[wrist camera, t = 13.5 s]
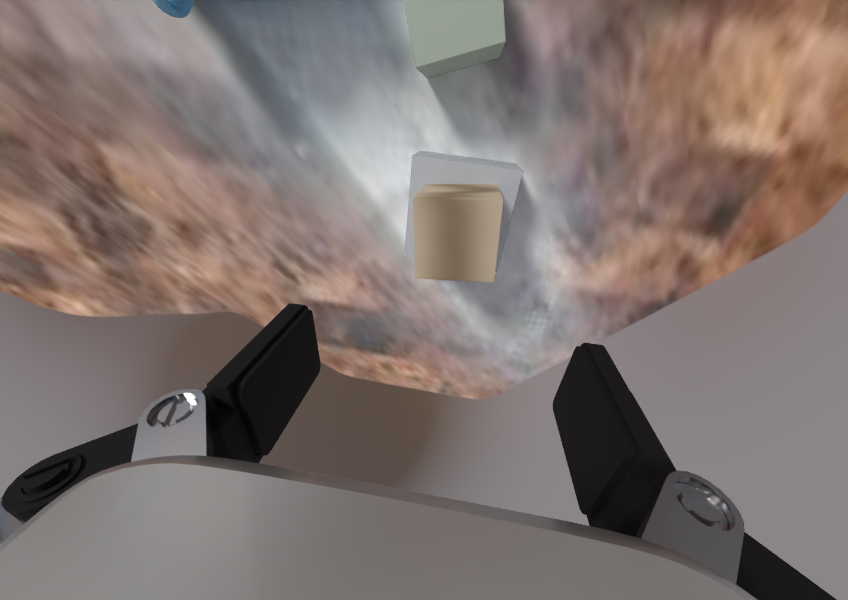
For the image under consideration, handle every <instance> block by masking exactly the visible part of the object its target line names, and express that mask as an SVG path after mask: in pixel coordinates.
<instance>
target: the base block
mask: <svg viewBox="0 0 848 600" xmlns="http://www.w3.org/2000/svg"><path fill="white" fill-rule="evenodd" d="M522 173H523V170H522V169H521V168H520V167H519V166H518V165H517V164H515V163H508V162H500V161H493V160H486V159H478V158H471V157H464V156H456V155H449V154H442V153H434V152H427V151H420V152H418V153H416V154H414V155H412V167H411V180H410V192H409V204H408V217H407V229H406V242H405V254H404V257H407V258H414V259H415V250H414V218H413V198H414V197H415V196H416V195H417V193H418V192H419V191H420V190H421V188H422V187H423V186H424V185H425V184H489V185H498V187H499V190H500V193H501V196H502V198H503V207H502V216H501V225H500V233H499V242H498V250H497V259H496V268H495V272H497V269H498V265H499V261H500V258H501V254H502V250H503V246H504V242H505V238H506V235H507V231H508V227H509V223H510V219H511V215H512V212H513V208H514V204H515V200H516V196H517V192H518V189H519V185H520V181H521V177H522Z"/></svg>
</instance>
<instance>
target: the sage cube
mask: <svg viewBox="0 0 848 600" xmlns="http://www.w3.org/2000/svg"><path fill="white" fill-rule="evenodd" d="M404 5H405V10H406V16H407V21H408V27H409V33H410V38H411V44H412V50H413V55H414V61H415V67H416V68H417V69H418V70H419V71H420V72H421V73H422V74H423V75H424V76H425V77H426V78H430V77H433V76H437V75H441V74H444V73H448V72H451V71H455V70H458V69H462V68H466V67H469V66H473V65H476V64H480V63H483V62H487V61H491V60H494V59H498V58H499V57H500V54H501V52H502V49H503V47H504V44H505V42H506V39H505V23H504V6H503V0H404Z"/></svg>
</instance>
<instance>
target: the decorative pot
mask: <svg viewBox="0 0 848 600" xmlns="http://www.w3.org/2000/svg"><path fill="white" fill-rule="evenodd" d="M153 1H154V3H155V4H156V5H157V6H158V7H159V8H160V9H161V10H162V11H163V12H165V13H167V14H168V15H170V16H173V17H177V18H183V17H185V16H187V15H188V14H189V12H190V11H191V9H192V6H193V0H153Z"/></svg>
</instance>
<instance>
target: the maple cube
mask: <svg viewBox="0 0 848 600" xmlns="http://www.w3.org/2000/svg"><path fill="white" fill-rule="evenodd" d="M502 207H503V198H502V196H501V193H500V190H499V187H498V185H489V184H425V185H424V186H423V187H422V188H421V190H420V191H419V192H418V193H417V195H416V196H415V197H414V198H413V218H414V250H415V278H418V279H437V280H456V281H475V282H494V276H495V268H496V259H497V250H498V242H499V233H500V225H501V216H502Z"/></svg>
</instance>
